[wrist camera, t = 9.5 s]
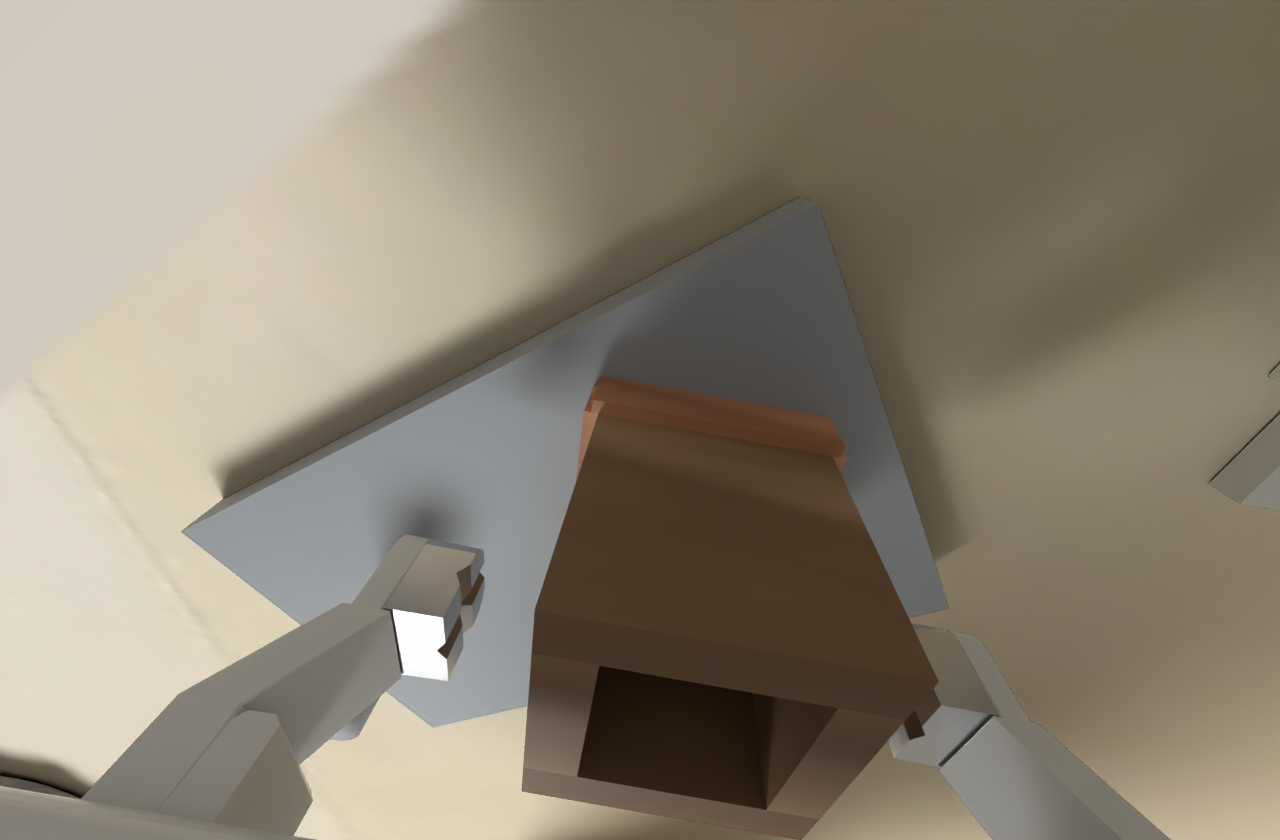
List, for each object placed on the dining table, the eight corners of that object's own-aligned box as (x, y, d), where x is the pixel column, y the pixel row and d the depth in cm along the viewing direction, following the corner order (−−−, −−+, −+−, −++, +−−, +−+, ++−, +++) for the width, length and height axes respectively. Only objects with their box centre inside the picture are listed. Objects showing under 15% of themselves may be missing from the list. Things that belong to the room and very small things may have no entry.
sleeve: (763, 581, 14) (811, 849, 8) (573, 547, 14) (505, 795, 8) (836, 418, 11) (976, 672, 6) (595, 373, 11) (510, 588, 6)
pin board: (926, 567, 15) (1039, 766, 10) (448, 691, 21) (378, 851, 16) (801, 196, 10) (907, 244, 5) (221, 500, 16) (25, 650, 11)
